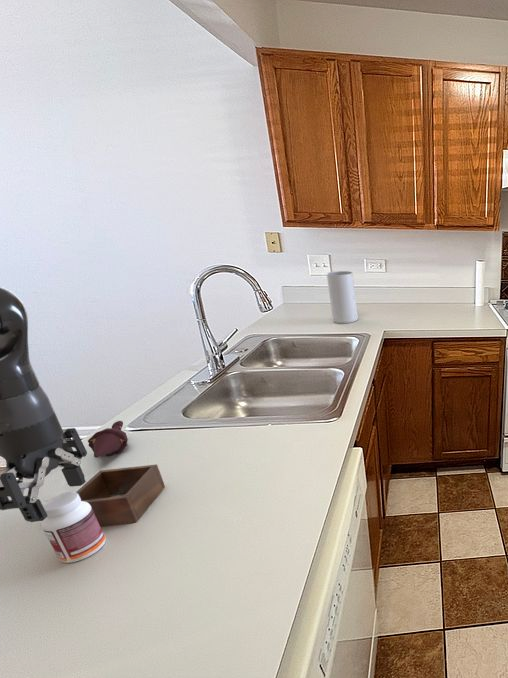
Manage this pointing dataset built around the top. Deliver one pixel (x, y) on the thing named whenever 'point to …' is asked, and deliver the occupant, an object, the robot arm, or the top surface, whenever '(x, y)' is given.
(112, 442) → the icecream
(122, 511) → the box
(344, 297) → the cylinder vase
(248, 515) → the top surface
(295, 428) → the top surface
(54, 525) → the pill bottle
